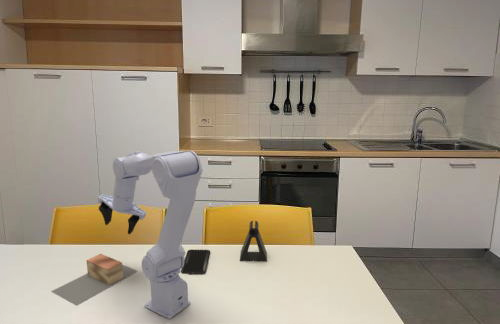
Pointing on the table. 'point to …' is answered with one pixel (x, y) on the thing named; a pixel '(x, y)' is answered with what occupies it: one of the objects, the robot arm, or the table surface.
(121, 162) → the robot arm
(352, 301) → the table surface
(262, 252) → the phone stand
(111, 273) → the oak block
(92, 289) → the rubber mat
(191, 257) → the phone
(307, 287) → the table surface
